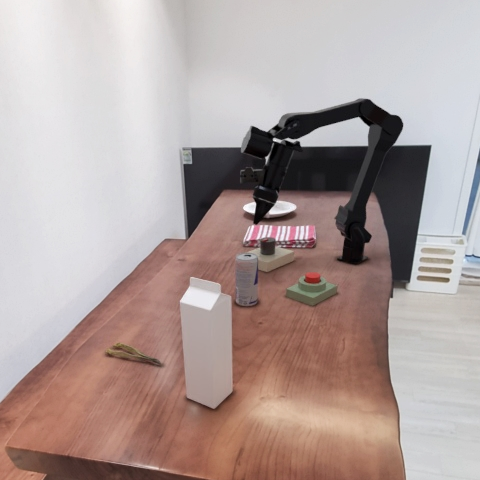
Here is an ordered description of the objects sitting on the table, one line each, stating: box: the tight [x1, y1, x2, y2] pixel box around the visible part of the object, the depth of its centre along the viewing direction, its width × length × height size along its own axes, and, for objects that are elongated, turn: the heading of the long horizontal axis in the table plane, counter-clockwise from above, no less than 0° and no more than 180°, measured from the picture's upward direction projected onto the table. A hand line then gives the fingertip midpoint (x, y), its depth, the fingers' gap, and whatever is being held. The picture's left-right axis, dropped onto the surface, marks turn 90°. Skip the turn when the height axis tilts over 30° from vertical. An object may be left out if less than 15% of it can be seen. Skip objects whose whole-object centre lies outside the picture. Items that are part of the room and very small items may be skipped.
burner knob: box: [259, 237, 276, 255], centre depth 136 cm, size 4×4×4 cm
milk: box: [179, 276, 234, 410], centre depth 77 cm, size 6×6×22 cm
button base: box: [285, 275, 338, 307], centre depth 116 cm, size 10×8×4 cm
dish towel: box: [242, 224, 317, 249], centre depth 155 cm, size 17×23×4 cm
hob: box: [245, 247, 295, 273], centre depth 137 cm, size 12×10×3 cm
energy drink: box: [234, 252, 259, 307], centre depth 112 cm, size 5×5×12 cm
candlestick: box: [242, 139, 297, 219], centre depth 175 cm, size 21×25×28 cm
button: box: [304, 271, 321, 284], centre depth 115 cm, size 4×4×2 cm
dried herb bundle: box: [105, 342, 162, 367], centre depth 95 cm, size 4×13×2 cm, turn 63°
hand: (256, 221), depth 128 cm, fingers open, 9 cm apart
